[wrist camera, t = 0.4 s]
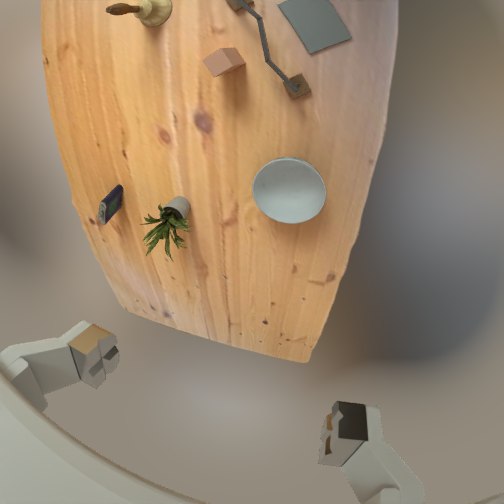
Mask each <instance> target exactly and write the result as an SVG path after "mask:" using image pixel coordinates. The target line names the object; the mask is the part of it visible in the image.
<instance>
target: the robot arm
mask: <svg viewBox="0 0 504 504" xmlns="http://www.w3.org/2000/svg"><path fill="white" fill-rule="evenodd" d="M116 344H117V338H116V335H114V334H113V333H111V332H109V331H107V330H105V329H103V328H101V327H99V326H97V325H95V324H93V323H91V322H89V321H87V320H83V321H81V322H80V323H79V324H77V325H76V326H74V327H73V328H72V329H70V330H69V331H68V332H67V333H65V334H64V335H63V336H61V337H60V338H59V339H58V338H50V339H45V340H40V341H34V342H29V343H23V344H17V345H11V346H9V347H8V348H7V349H5V350H4V351H3V352H1V353H0V504H210V503H207V502H204V501H201V500H198V499H194V498H192V497H189V496H186V495H183V494H181V493H178V492H175V491H173V490H171V489H168V488H165V487H163V486H161V485H159V484H156V483H154V482H152V481H150V480H148V479H145V478H143V477H141V476H139V475H137V474H135V473H133V472H131V471H129V470H127V469H126V468H124V467H122V466H120V465H118V464H116V463H115V462H113V461H111V460H109V459H108V458H106V457H104V456H103V455H101V454H99V453H98V452H96V451H94V450H93V449H91V448H90V447H88V446H87V445H85V444H84V443H82V442H81V441H79V440H78V439H76V438H75V437H74V436H72V435H71V434H69V433H68V432H67V431H65V430H64V429H63V428H61V427H60V426H59V425H57V424H56V423H55V422H54V421H52V420H51V419H50V418H49V417H47V416H46V415H45V414H44V413H43V411H44V410H45V409H46V408H47V406H48V403H47V401H46V399H45V397H44V394H47V393H50V392H52V391H55V390H58V389H61V388H63V387H66V386H69V385H71V384H74V383H77V382H79V381H80V380H81V381H83V382H85V383H87V384H89V385H90V386H92V387H94V388H95V389H97V388H98V387H99V386H100V385H101V384H102V383H103V382H104V381H105V379H106V374H107V373H111V372H113V371H114V370H115V369H116V367H117V365H118V363H119V357H120V355H119V351H118V349H117V348H116V346H115V345H116ZM320 439H321V440H322V442H323V444H322V446H321V447H320V449H319V460H318V464H323V465H330V466H339V467H341V469H342V471H343V473H344V475H345V476H346V478H347V480H348V482H349V484H350V486H351V487H352V489H353V491H354V493H355V494H356V496H357V498H358V500H359V502H360V503H361V504H425V496H424V487H423V484H422V482H421V481H420V480H419V479H418V478H417V477H416V475H415V474H414V473H413V472H412V471H411V470H410V469H409V468H408V466H407V465H406V464H405V463H404V461H403V460H402V459H401V458H400V457H399V456H398V454H397V453H396V452H395V451H394V450H393V449H392V447H391V446H390V445H389V444H388V443H387V442H383V433H382V425H381V418H380V410H379V407H378V406H377V405H366V404H358V403H350V402H342V401H336V402H335V403H334V405H333V407H332V413H331V414H329V415H327V417H326V419H325V420H324V423H323V426H322V430H321V438H320ZM471 504H504V493H499V494H496V495H493V496H491V497H488V498H485V499H483V500H480V501H477V502H474V503H471Z"/></svg>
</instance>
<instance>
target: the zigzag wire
mask: <svg viewBox="0 0 504 504" xmlns="http://www.w3.org/2000/svg"><path fill="white" fill-rule="evenodd" d="M227 2H228V3H229V4H230V5H231V7H232V8H233V9H234V11H238V10H240V9H242V8H244V9H246V10H247V11H248V12H249V13H250V14H252V15H253V16H254V17H255V18H256V19H257V22H258V27H259V31H260V36H261V41H262V46H263V51H264V56H265V62H266V63H267V64H268V65H269V66H270V67H271V68H272V69H273V70H274V71H275V72H276V73H277V74H278V75H279V76H280V77H281V78H282V79H283V80H284V81H283V84H284V85H285V87H286V89H287V90H288V92H289V94H290V96H291V97H292V99H294V98H296V97H299V96H301V95H303V94H306V93H308V92H311V89H310V88H309V86H308V84H307V82H306V80H305V79H304V77H303V75H302V74H299V75H296V76H294V77H292V78H290V79H288V77H287V76H286V75H285V74H284V73H283V72H282V71H281V70H280V69H279V68H278V67H277V66H276V65H275V64H274V63H273V62H272V61H271V59H270V54H269V49H268V44H267V39H266V34H265V29H264V24H263V20H262V17H261V16H260V15H258V14H257V13H256V12H255V11H254V10H253V9H251V8H250V7H249V6H248V5H249V4H251V3H253V2H254V1H253V0H227Z"/></svg>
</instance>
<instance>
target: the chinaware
mask: <svg viewBox="0 0 504 504" xmlns="http://www.w3.org/2000/svg"><path fill="white" fill-rule="evenodd" d="M252 193H253V197H254V200H255V202H256V204H257V206H258V207H259V209H260V210H261V211H262V212H263V213H264V214H266V215H267V216H268V217H270V218H272V219H274V220H276V221H279V222H282V223H289V224H295V223H301V222H305V221H308V220H310V219H311V218H313V217H314V216H316V215H317V214H318V213H319V212H320V210H321V209H322V207H323V206H324V203H325V200H326V188H325V184H324V181H323V179H322V177H321V175H320V174H319V172H318V171H317V170H316V169H315V168H314V167H313V166H312V165H311V164H309V163H308V162H306V161H304V160H302V159H299V158H295V157H282V158H278V159H275V160H272V161H270V162H269V163H267V164H266V165H264V166H263V167H262V168H261V169H260V170H259V171H258V173H257V174H256V176H255V178H254V181H253V185H252Z"/></svg>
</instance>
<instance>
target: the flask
mask: <svg viewBox="0 0 504 504" xmlns="http://www.w3.org/2000/svg"><path fill="white" fill-rule="evenodd" d="M122 192H123V187H122V186H121V185H117V186H116V187H115V188H114V189H113V190H112V191H111V192H110V193H109V194H108V195H107V196H106V197H105V198H104V199H103V200H102V201H101V203H100V206H99V213H98V218H99V219H100V223H101V224H103V225H106V223H107V222H108V221H109V220H110V219H111V217H112V216H113V215H114V214H115V213H116V212H117V211H118V210H119V209H120V208H121V205H122V204H121V202H122V197H121V196H122ZM96 217H97V214H96Z"/></svg>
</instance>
